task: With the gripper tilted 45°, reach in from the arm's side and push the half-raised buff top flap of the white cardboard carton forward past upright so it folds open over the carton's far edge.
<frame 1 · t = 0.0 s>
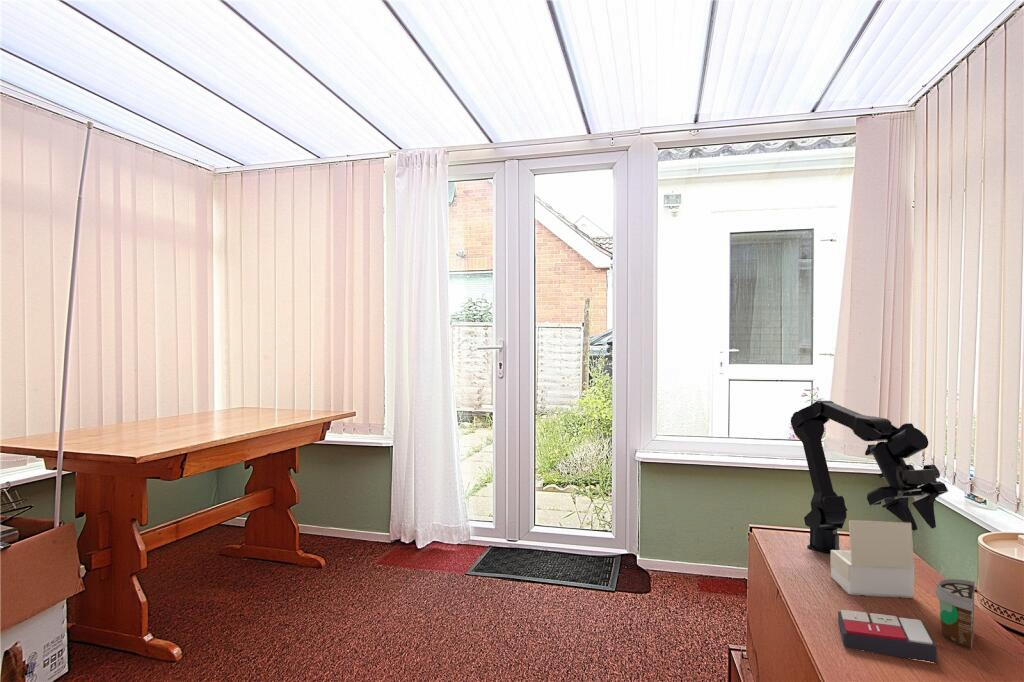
hand: (924, 529, 142), 15 cm above the cabinet, tool tilted 35°, fingers open, 5 cm apart
food container: (953, 636, 122), on the cabinet
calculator: (884, 645, 119), on the cabinet
carton flap: (881, 543, 141), point 12 cm above the cabinet, hinge at 80.4°, touching gripper
carton: (870, 587, 145), on the cabinet
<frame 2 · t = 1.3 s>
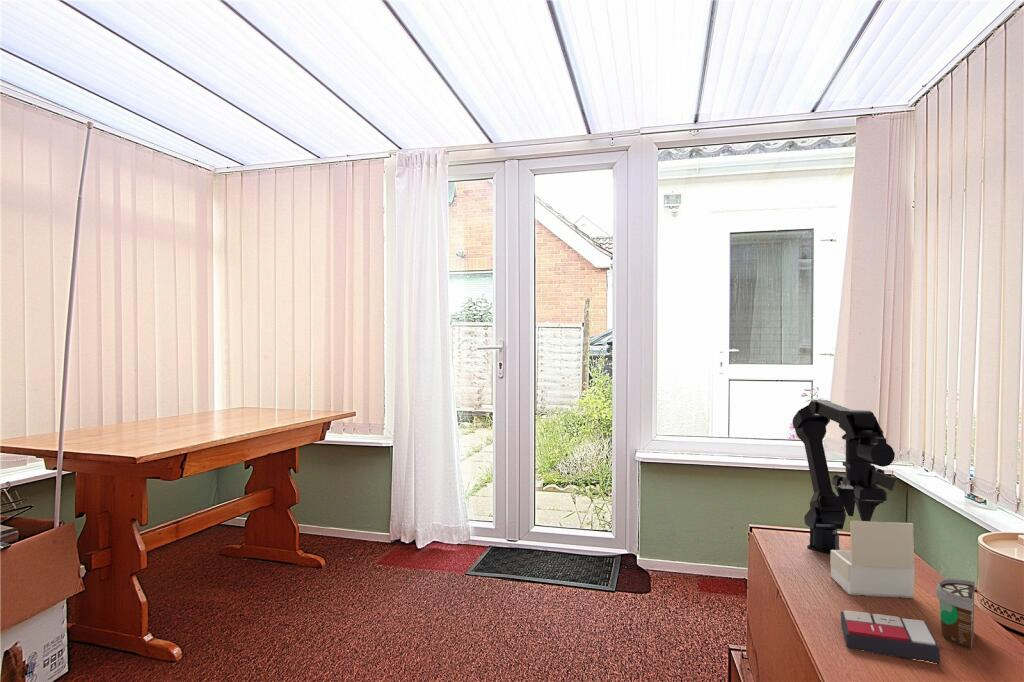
hand: (858, 520, 156), 13 cm above the cabinet, tool pointing down, fingers open, 9 cm apart
carton flap: (882, 544, 140), point 12 cm above the cabinet, hinge at 85.0°
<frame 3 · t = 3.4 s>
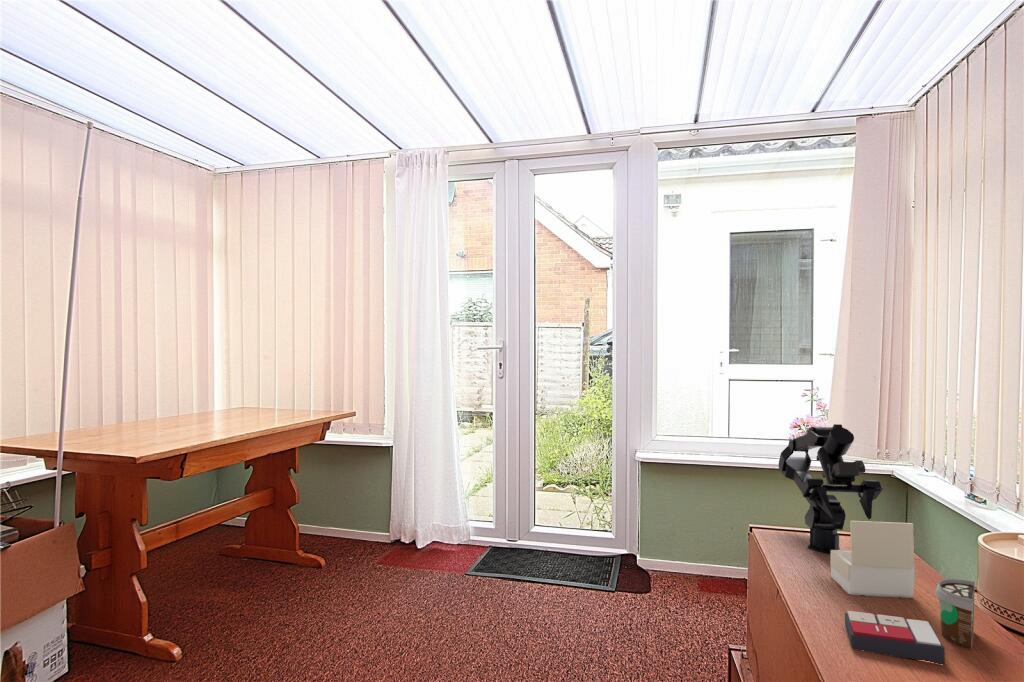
hand: (851, 518, 156), 14 cm above the cabinet, tool tilted 45°, fingers open, 9 cm apart
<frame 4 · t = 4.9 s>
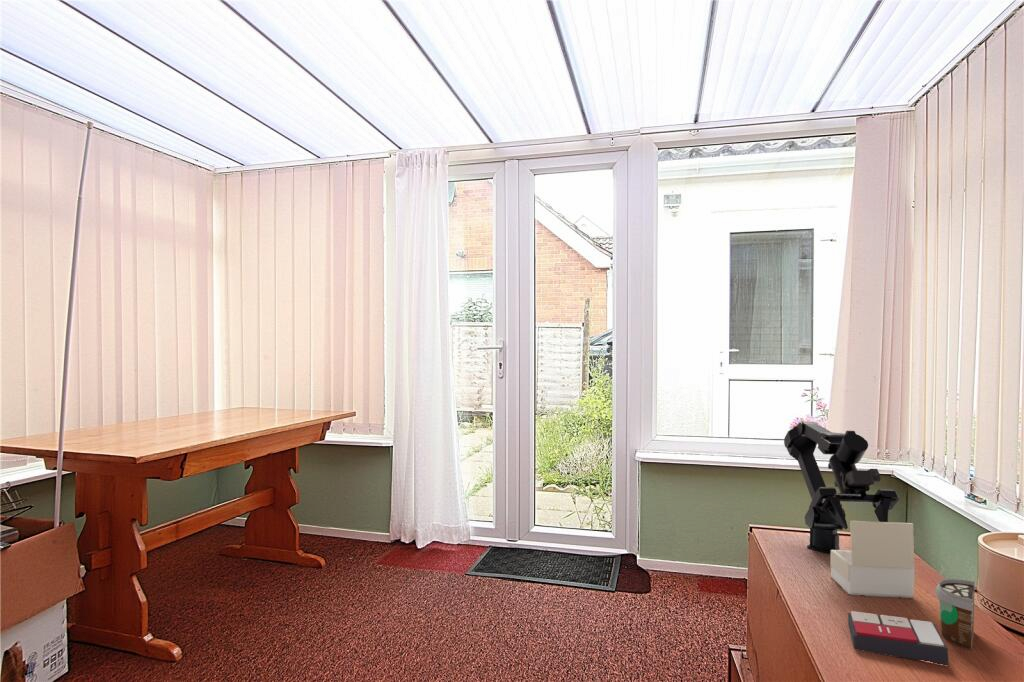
hand: (866, 529, 148), 13 cm above the cabinet, tool tilted 45°, fingers open, 9 cm apart
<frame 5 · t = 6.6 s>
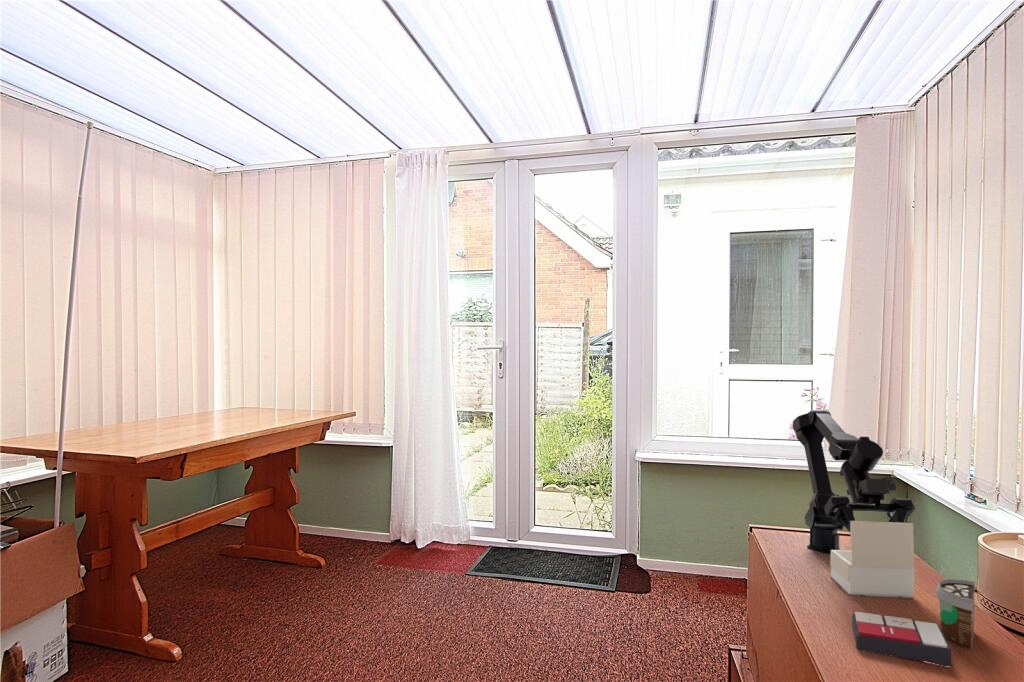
hand: (880, 540, 141), 13 cm above the cabinet, tool tilted 45°
carton flap: (882, 544, 140), point 12 cm above the cabinet, hinge at 85.0°, touching gripper
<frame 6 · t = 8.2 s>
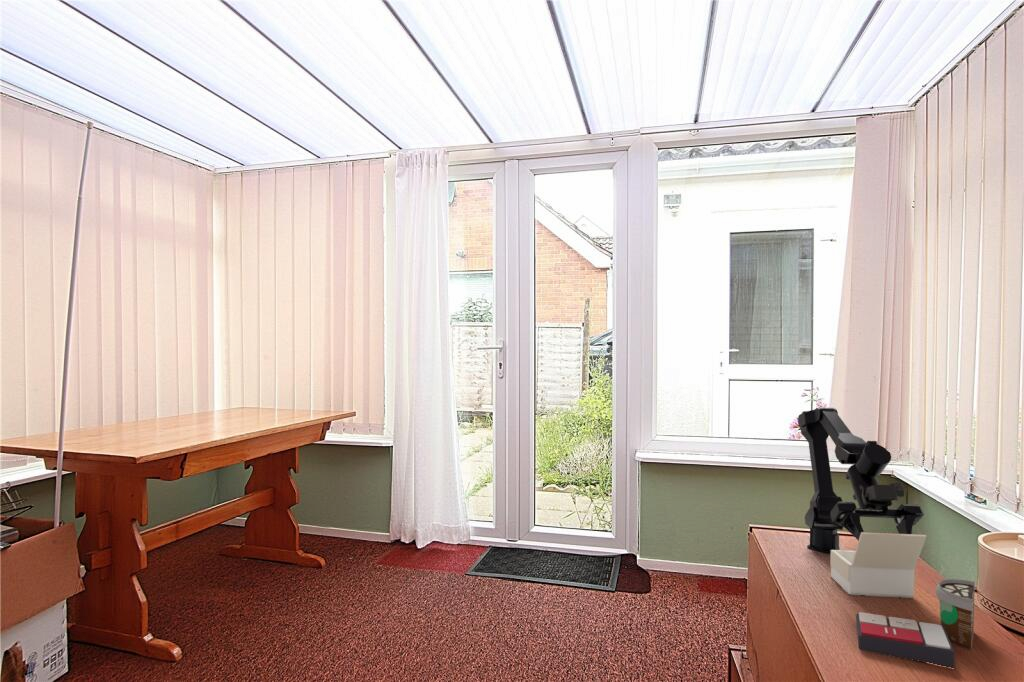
hand: (888, 548, 138), 12 cm above the cabinet, tool tilted 45°
carton flap: (888, 550, 138), point 11 cm above the cabinet, hinge at 116.2°, touching gripper
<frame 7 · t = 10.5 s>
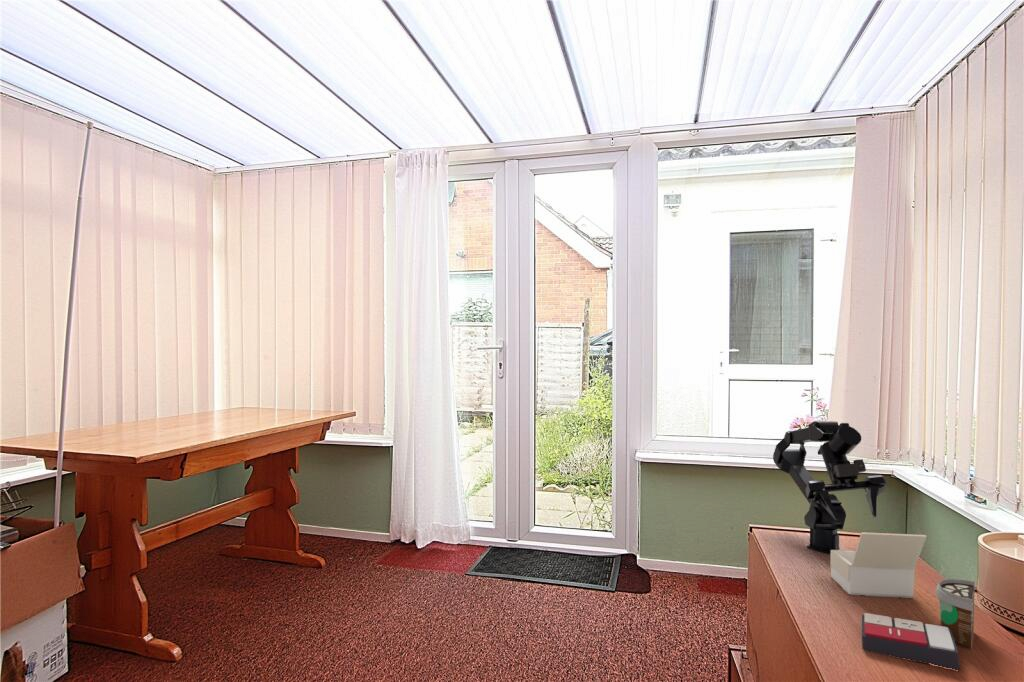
hand: (855, 518, 157), 13 cm above the cabinet, tool tilted 40°, fingers open, 9 cm apart
carton flap: (888, 551, 138), point 11 cm above the cabinet, hinge at 116.4°
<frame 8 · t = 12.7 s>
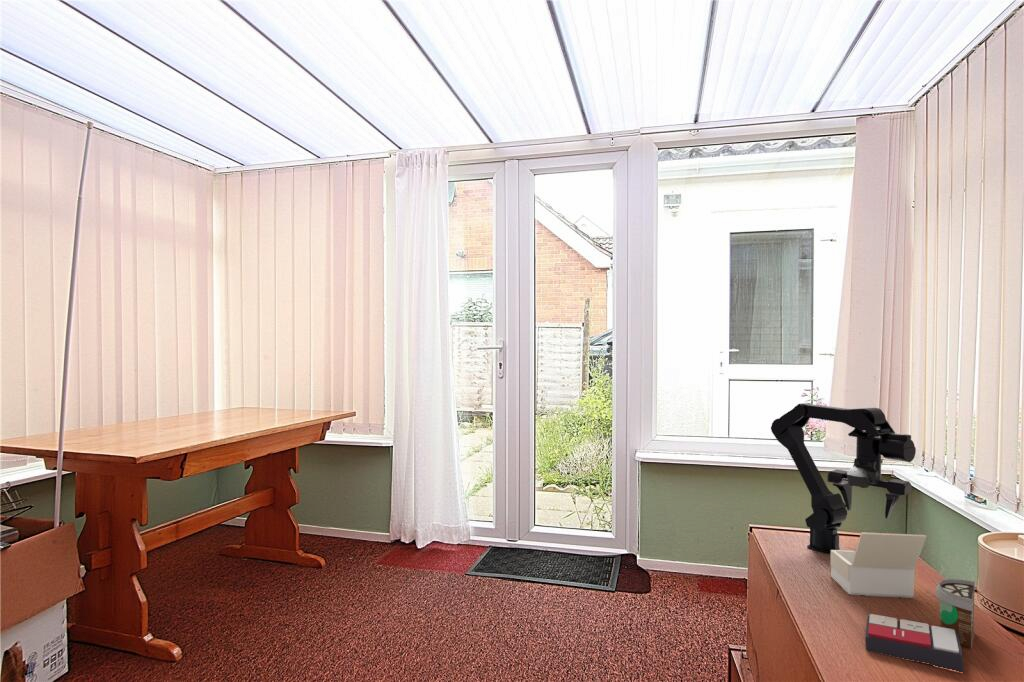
hand: (867, 514, 162), 13 cm above the cabinet, tool pointing down, fingers open, 9 cm apart
at the end: carton flap at +116° (first picture: +80°); the gripper is holding nothing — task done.
